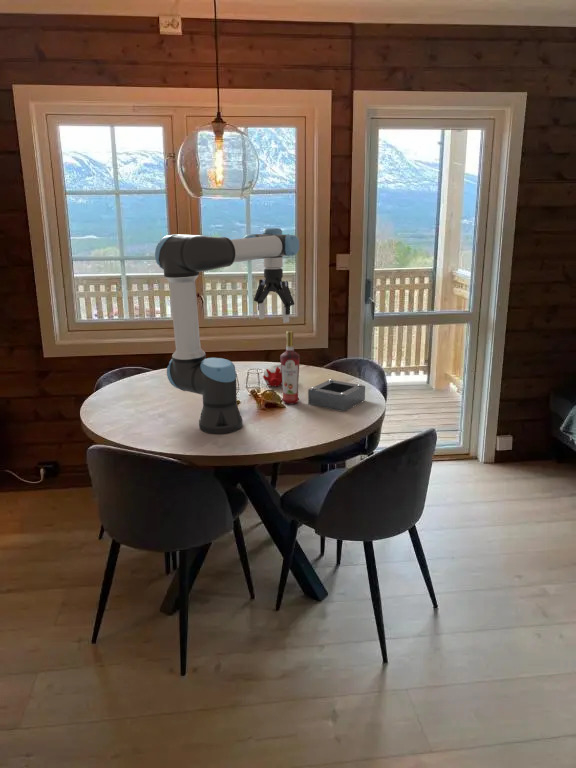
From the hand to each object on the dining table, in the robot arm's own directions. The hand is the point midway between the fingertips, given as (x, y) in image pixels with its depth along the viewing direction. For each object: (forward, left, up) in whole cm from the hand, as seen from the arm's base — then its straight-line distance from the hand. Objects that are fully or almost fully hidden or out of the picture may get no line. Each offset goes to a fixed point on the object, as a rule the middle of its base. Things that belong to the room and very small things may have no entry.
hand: (273, 320), depth 240 cm
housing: (-3, -32, -29) cm, 43 cm away
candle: (+2, +1, -29) cm, 29 cm away
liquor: (-13, -17, -29) cm, 36 cm away
